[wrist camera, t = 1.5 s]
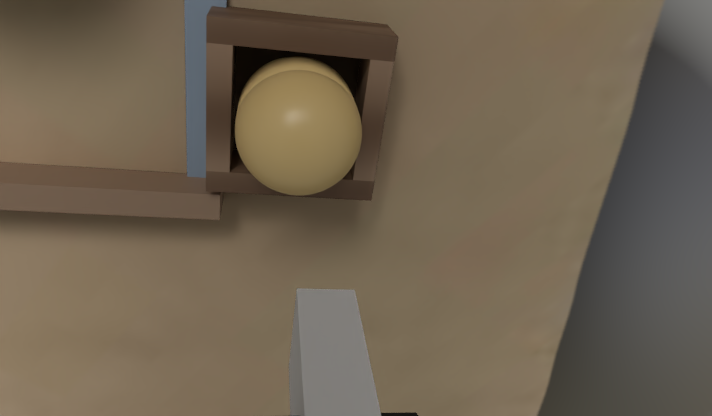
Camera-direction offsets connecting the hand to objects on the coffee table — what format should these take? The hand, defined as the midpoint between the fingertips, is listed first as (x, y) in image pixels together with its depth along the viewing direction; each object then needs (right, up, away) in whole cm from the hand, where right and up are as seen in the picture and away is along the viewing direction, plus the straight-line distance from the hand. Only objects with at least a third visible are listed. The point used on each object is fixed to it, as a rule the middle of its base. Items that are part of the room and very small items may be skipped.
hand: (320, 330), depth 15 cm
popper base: (-2, +9, +16) cm, 19 cm away
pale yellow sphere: (-2, +8, +14) cm, 17 cm away
